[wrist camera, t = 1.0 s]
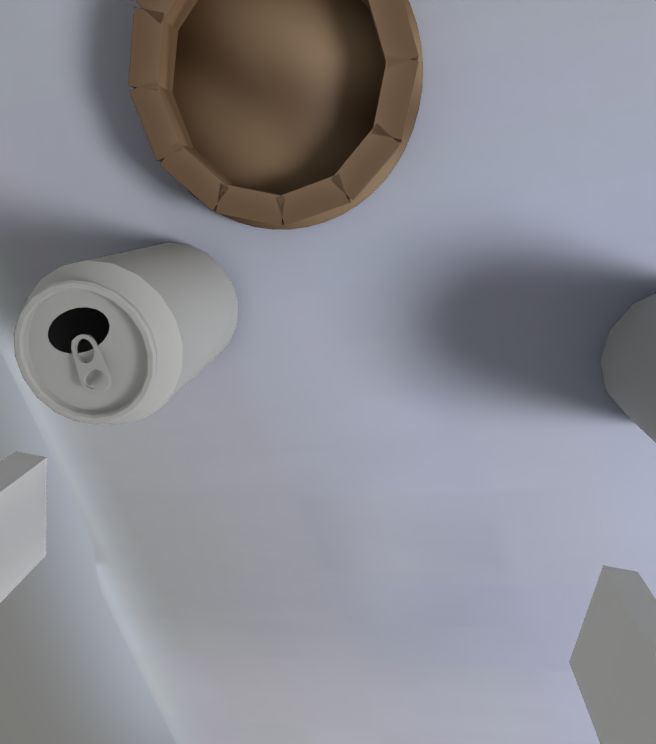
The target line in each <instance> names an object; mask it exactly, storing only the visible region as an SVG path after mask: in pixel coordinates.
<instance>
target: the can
mask: <svg viewBox="0 0 656 744" xmlns="http://www.w3.org/2000/svg"><path fill="white" fill-rule="evenodd" d="M237 321H238V301H237V297H236V293H235V289H234V285H233V283H232V282H231V280H230V278H229V277H228V275H227V273H226V272H225V270H224V268H223V267H222V266H221V265H220V264H218V263H217V262H216V261H215V260H214V259H213V258H212V257H211V256H210V255H209V254H207V253H205V252H203V251H201V250H199V249H197V248H195V247H193V246H190V245H186V244H178V243H170V242H169V243H164V244H159V245H155V246H150V247H145V248H141V249H136V250H131V251H127V252H122V253H118V254H113V255H108V256H104V257H99V258H95V259H90V260H85V261H81V262H76V263H72V264H67V265H62V266H60V267H59V268H57V269H56V270H54V271H53V272H51V273H50V274H48V275H47V276H45V277H44V278H42V279H41V280H40V281H39V283H38V284H37V286H36V287H35V288H34V290H33V291H32V293H31V294H30V295H29V297H28V298H27V301H26V305H25V306H24V307H23V309H22V310H21V311H20V313H19V316H18V320H17V324H16V327H15V331H14V346H15V357H16V360H17V363H18V365H19V368H20V371H21V374H22V376H23V378H24V380H25V381H26V383H27V384H28V385H29V387H30V388H31V390H32V391H33V392H34V394H35V395H36V397H37V398H39V399H40V400H41V401H42V402H43V403H45V404H46V405H47V406H48V407H50V408H51V409H52V410H53V411H54V412H56V413H59V414H61V415H63V416H65V417H67V418H69V419H72V420H74V421H78V422H84V423H91V424H102V423H103V424H110V425H118V424H124V423H130V422H137V421H139V420H141V419H143V418H145V417H147V416H148V415H150V414H152V413H154V412H156V411H158V410H159V409H160V408H161V407H162V406H163V405H164V404H165V403H167V402H168V401H169V400H170V399H171V398H172V397H173V396H174V395H175V394H176V393H177V392H179V391H180V390H181V389H182V388H183V387H184V386H185V385H186V384H187V383H188V382H189V381H191V380H192V379H193V378H194V377H195V376H196V375H197V374H198V373H199V372H200V371H201V370H203V369H204V368H205V367H206V366H207V365H208V364H209V363H210V362H211V361H212V360H213V359H215V358H216V357H217V356H218V355H219V354H220V353H221V351H222V350H223V349H224V348H225V347H226V346H227V345H228V343H229V342H230V341H231V338H232V336H233V334H234V331H235V329H236V326H237Z"/></svg>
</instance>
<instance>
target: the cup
mask: <svg viewBox="0 0 656 744" xmlns="http://www.w3.org/2000/svg"><path fill="white" fill-rule="evenodd" d="M600 363H601V368H602V374H603V379H604V384H605V389H606V392H607V393H608V394H609V395H610V396H611V398H612V399H613V400H614V401H615V402H616V403H617V405H618V406H619V407H620V408H621V409H622V411H623V412H624V413H625V414H626V415H627V416H628V417H629V418H630V419H631V420H632V421H633V422H634V423H636V424H637V425H638V426H639V427H640V428H641V429H642V430H643V431H644V432H645V433H646V434H647V435H648V436H649V437H650V438H651V439H652V440H653V441H654V442H655V443H656V293H654V294H652V295H650V296H648V297H646V298H644V299H641V300H639V301H637V302H635V303H633V304H632V306H631V307H630V308H629V309H628V310H627V311H626V312H625V313H624V315H623V316H622V317H621V318H620V319H619V320H618V321H617V322H616V324H615V325H614V326H613V327H612V328H611V329H610V331H609V334H608V337H607V341H606V344H605V347H604V350H603V354H602V357H601V360H600Z"/></svg>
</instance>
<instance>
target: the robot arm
mask: <svg viewBox="0 0 656 744" xmlns="http://www.w3.org/2000/svg"><path fill="white" fill-rule="evenodd" d="M46 484H47V457H43V456H38V455H33V454H27V453H22V452H17V451H16V452H14V453H13V454H11V455H10V456H8V457H7V458H5V459H4V460H2V461H1V462H0V602H1V601H2V600H3V599H4V598H5V597H6V596H7V595H8V594H9V593H10V592H11V591H12V590H13V589H14V588H15V587H16V586H17V585H18V584H19V583H20V582H21V581H22V580H23V578H24V577H25V576H26V575H27V574H28V573H29V572H30V571H31V570H32V569H33V568H34V567H35V566H36V565H37V564H38V563H39V562H40V561H41V560H42V559H43V558H44V557H45V556H46V495H47V493H46V490H47V485H46ZM569 663H570V665H571V668H572V671H573V673H574V676H575V678H576V681H577V684H578V686H579V689H580V691H581V694H582V697H583V699H584V702H585V704H586V707H587V710H588V712H589V715H590V717H591V720H592V723H593V725H594V728H595V730H596V733H597V736H598V738H599V741H600V743H601V744H656V599H655V598H654V596H653V595H652V593H651V591H650V590H649V588H648V587H647V585H646V584H645V582H644V581H643V579H642V578H641V576H640V575H639V573H638V572H635V571H629V570H624V569H619V568H614V567H609V566H604V565H603V568H602V571H601V574H600V576H599V579H598V582H597V585H596V588H595V591H594V593H593V596H592V599H591V602H590V605H589V608H588V610H587V613H586V616H585V619H584V622H583V625H582V627H581V630H580V633H579V636H578V639H577V642H576V644H575V647H574V650H573V653H572V656H571V659H570V661H569Z"/></svg>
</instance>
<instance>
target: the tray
mask: <svg viewBox="0 0 656 744" xmlns="http://www.w3.org/2000/svg"><path fill="white" fill-rule="evenodd" d="M136 2H137V3H138V4H139V5H140V6H141V7H142V8H143V9H141V8H136V7H134V18H133V32H132V45H131V59H130V72H129V85H128V86H131V87H133V88H135V89H133V90H130V94H131V97H132V99H133V102H134V104H135V107H136V109H137V112H138V114H139V117H140V119H141V122H142V124H143V127H144V129H145V132H146V134H147V137H148V139H149V142H150V144H151V147H152V149H153V152H154V155H155V157H156V160H157V161H162V162H161V164H160V165H161V166H162V167H163V168H164V169H165V170H166V171H167V172H169V173H170V174H171V175H172V176H173V177H174V178H175V179H177V180H178V181H179V182H180V183H181V184H182V185H183V186H184V187H185V188H186V189H187V190H188V191H189V192H190V193H191V194H192V195H193V196H195V197H196V198H197V199H199V200H200V201H201V202H202V203H204V204H205V205H206V206H207V207H208V208H209V209H211V210H212V211H216V213H219V214H221V215H223V216H225V217H228V218H230V219H232V220H235V221H237V222H240V223H243V224H247V225H250V226H254V227H260V228H267V229H296V228H303V227H309V226H312V225H316V224H320V223H323V222H326V221H328V220H331V219H333V218H335V217H337V216H340V215H342V214H344V213H345V212H347V211H349V210H350V209H352V208H354V207H355V206H357V205H358V204H360V203H361V202H362V201H363V200H365V199H366V198H367V197H368V196H370V195H371V194H372V193H373V192H374V191H375V190H376V189H377V188H378V187H379V186H380V185H381V184H382V183H383V182H384V180H385V179H386V178H387V176H388V175H389V174H390V172H391V171H392V170H393V168H394V167H395V166H396V164H397V162H398V160H399V159H400V157H401V155H402V153H403V152H404V150H405V148H406V145H407V143H408V141H409V138H410V136H411V133H412V131H413V128H414V124H415V121H416V117H417V113H418V110H419V104H420V98H421V92H422V77H423V62H422V50H421V42H420V37H419V32H418V28H417V23H416V20H415V17H414V14H413V11H412V8H411V5H410V3H409V1H408V0H137V1H136Z"/></svg>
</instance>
